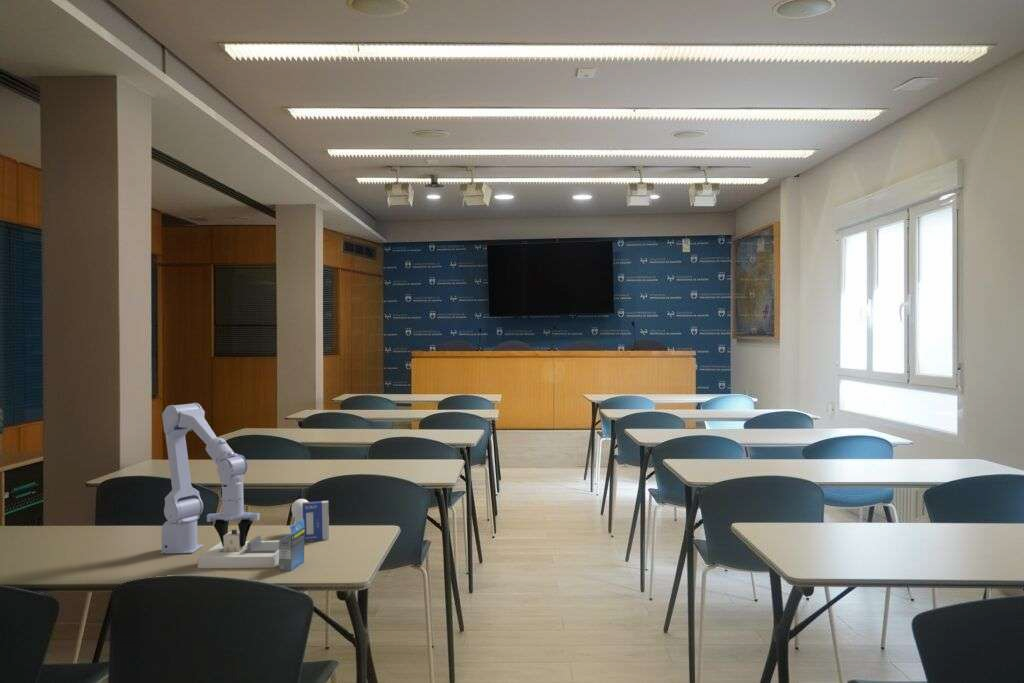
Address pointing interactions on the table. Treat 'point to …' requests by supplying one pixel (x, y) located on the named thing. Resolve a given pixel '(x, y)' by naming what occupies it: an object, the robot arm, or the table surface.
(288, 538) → the label tape box
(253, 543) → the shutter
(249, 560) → the socket board
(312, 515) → the walkman
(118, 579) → the table surface
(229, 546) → the plug
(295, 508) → the lightbulb
